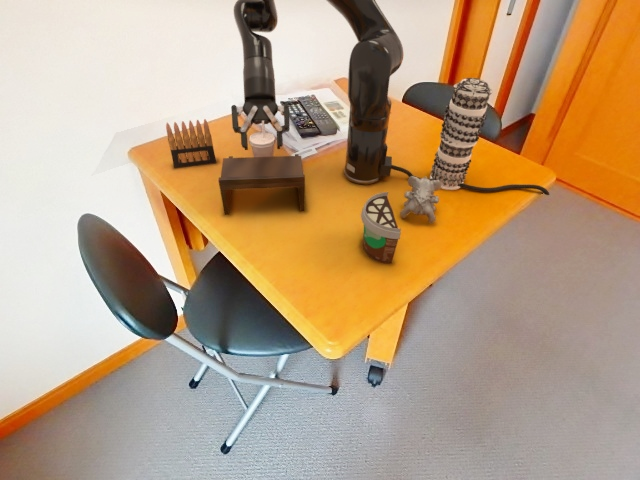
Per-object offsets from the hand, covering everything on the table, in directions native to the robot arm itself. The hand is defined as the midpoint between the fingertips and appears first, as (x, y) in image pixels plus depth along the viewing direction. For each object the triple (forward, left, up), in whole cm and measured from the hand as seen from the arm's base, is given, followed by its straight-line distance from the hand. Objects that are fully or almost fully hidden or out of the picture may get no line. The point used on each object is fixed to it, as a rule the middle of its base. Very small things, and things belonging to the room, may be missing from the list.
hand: (262, 148), depth 96 cm
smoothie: (0, -2, -8) cm, 8 cm away
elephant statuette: (-35, +16, -8) cm, 39 cm away
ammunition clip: (+18, -7, -8) cm, 21 cm away
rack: (0, +5, -7) cm, 9 cm away
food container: (-22, +28, -8) cm, 37 cm away
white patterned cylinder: (-46, +5, -8) cm, 47 cm away
